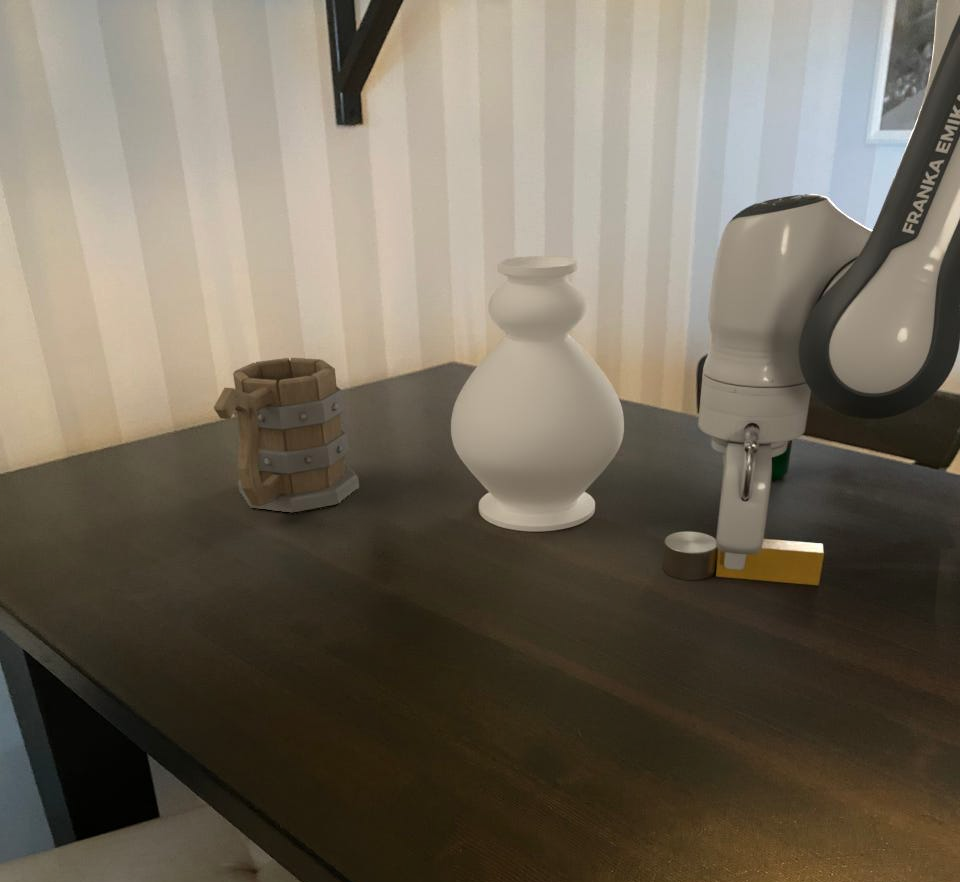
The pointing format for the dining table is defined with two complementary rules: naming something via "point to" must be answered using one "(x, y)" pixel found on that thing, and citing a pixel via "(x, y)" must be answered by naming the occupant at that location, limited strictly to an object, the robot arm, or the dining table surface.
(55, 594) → the dining table surface
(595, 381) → the decorative vase
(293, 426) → the tankard
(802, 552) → the silver puck with tab
